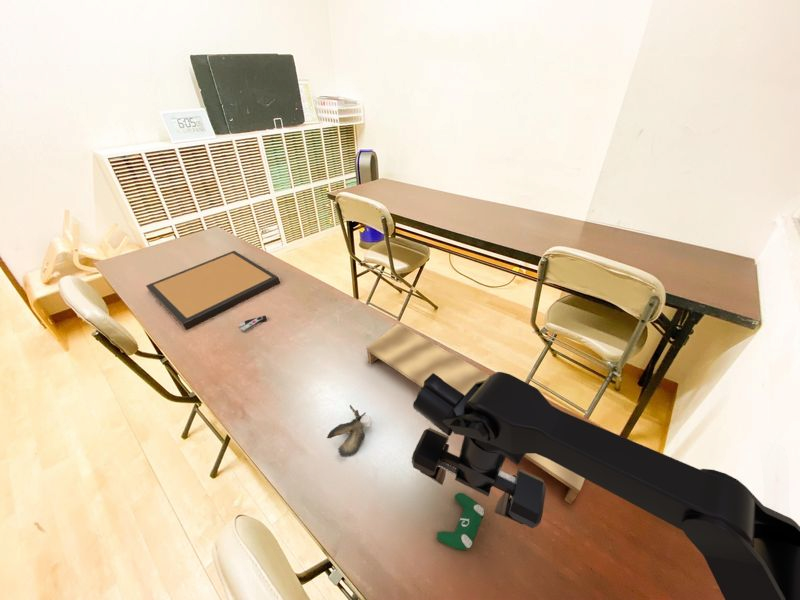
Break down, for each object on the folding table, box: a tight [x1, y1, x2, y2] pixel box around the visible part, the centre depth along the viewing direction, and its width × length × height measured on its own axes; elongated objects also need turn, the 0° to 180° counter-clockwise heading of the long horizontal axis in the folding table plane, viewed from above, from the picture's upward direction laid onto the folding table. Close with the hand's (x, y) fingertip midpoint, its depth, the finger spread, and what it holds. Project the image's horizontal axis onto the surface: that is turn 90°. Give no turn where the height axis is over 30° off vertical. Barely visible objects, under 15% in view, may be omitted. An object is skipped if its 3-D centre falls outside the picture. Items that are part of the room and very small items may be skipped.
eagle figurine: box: [326, 404, 373, 458], centre depth 72 cm, size 8×7×9 cm
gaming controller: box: [436, 492, 485, 551], centre depth 58 cm, size 9×4×6 cm
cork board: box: [145, 250, 281, 331], centre depth 125 cm, size 36×3×35 cm
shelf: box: [366, 323, 586, 505], centre depth 79 cm, size 56×13×6 cm, turn 48°
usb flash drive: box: [238, 315, 268, 333], centre depth 106 cm, size 9×5×1 cm, turn 115°
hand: (468, 495), depth 53 cm, fingers open, 9 cm apart
